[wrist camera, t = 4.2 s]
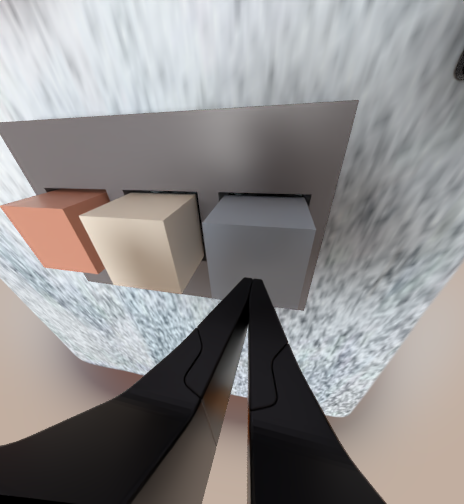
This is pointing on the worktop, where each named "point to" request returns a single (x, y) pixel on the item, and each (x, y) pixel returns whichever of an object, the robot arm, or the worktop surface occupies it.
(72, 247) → the brick key
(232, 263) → the slate key
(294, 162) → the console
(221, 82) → the worktop surface
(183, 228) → the ivory key
